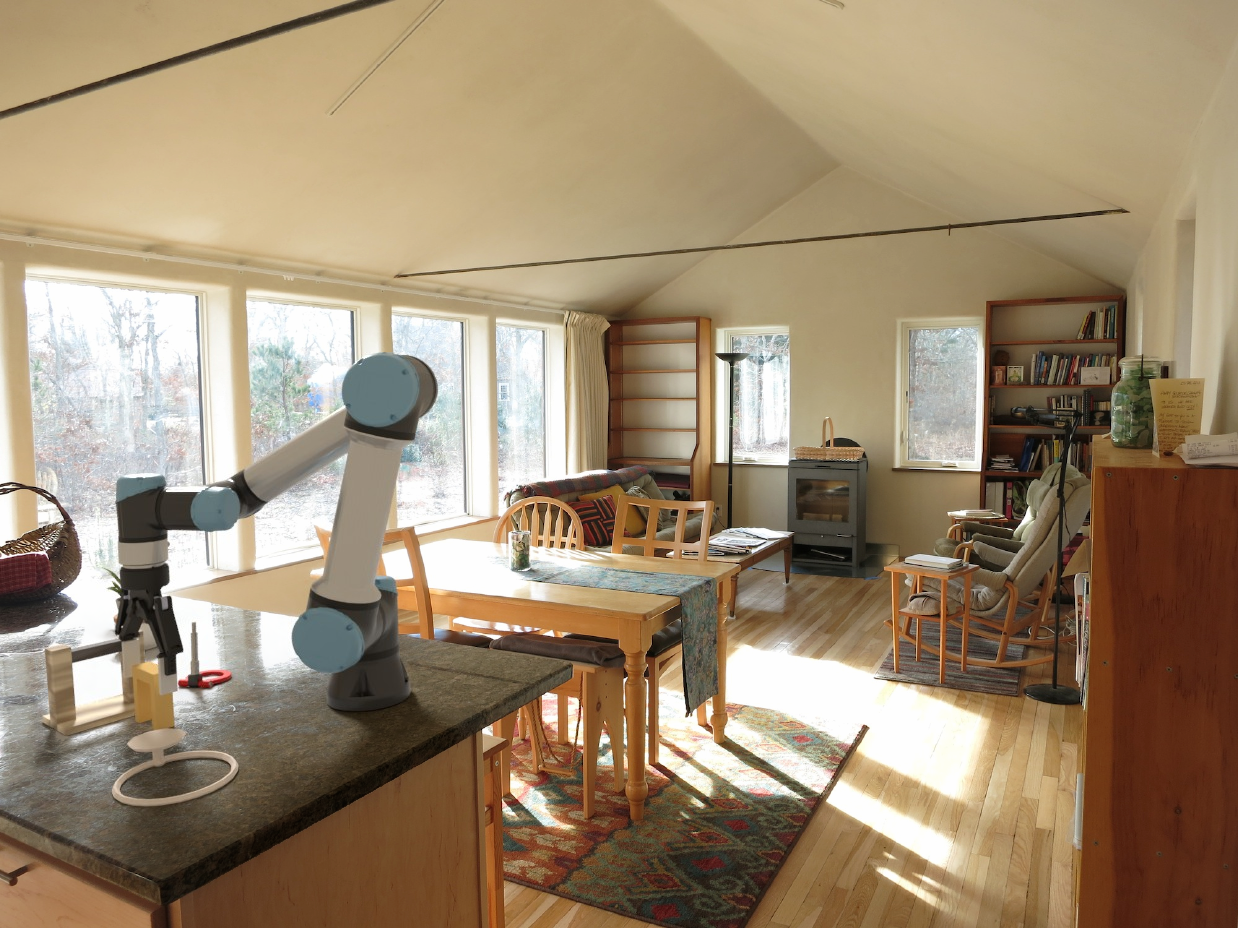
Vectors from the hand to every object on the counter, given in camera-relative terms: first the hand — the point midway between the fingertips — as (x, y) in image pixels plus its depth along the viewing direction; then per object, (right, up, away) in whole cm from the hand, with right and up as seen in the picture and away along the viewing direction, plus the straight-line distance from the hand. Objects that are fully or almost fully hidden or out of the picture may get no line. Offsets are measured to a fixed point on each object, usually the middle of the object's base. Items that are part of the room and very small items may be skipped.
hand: (149, 684), depth 152 cm
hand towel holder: (+14, -9, -20) cm, 26 cm away
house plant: (-39, -2, +68) cm, 79 cm away
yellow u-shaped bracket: (+1, -7, +1) cm, 7 cm away
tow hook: (-1, -5, +23) cm, 24 cm away
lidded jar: (-27, -3, +47) cm, 54 cm away
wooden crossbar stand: (-11, -7, +5) cm, 14 cm away
